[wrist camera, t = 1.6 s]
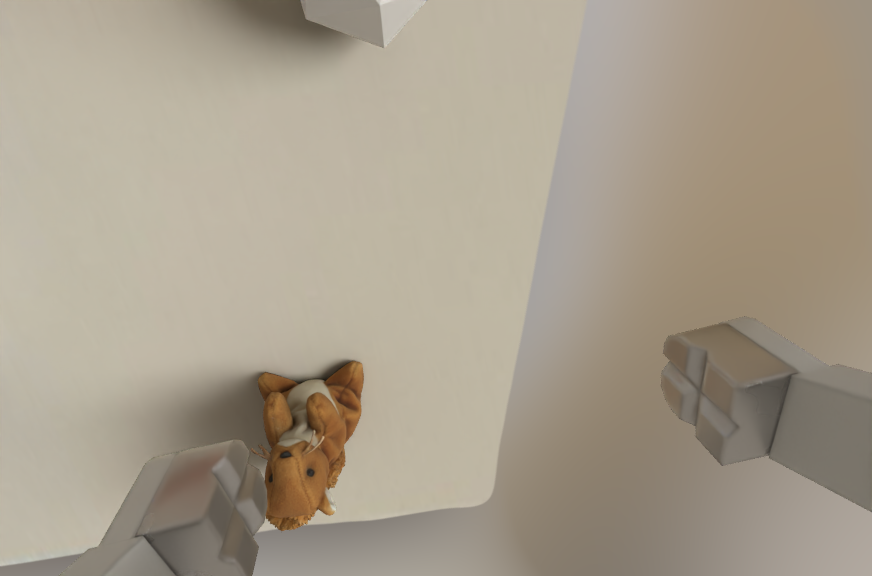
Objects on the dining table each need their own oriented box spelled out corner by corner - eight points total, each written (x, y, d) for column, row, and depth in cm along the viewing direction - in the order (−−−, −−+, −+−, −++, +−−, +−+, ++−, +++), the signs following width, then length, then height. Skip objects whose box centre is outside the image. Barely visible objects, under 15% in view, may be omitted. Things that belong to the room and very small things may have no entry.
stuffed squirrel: (363, 352, 43) (365, 457, 31) (363, 456, 49) (365, 576, 37) (256, 355, 41) (216, 468, 29) (270, 463, 47) (241, 591, 35)
